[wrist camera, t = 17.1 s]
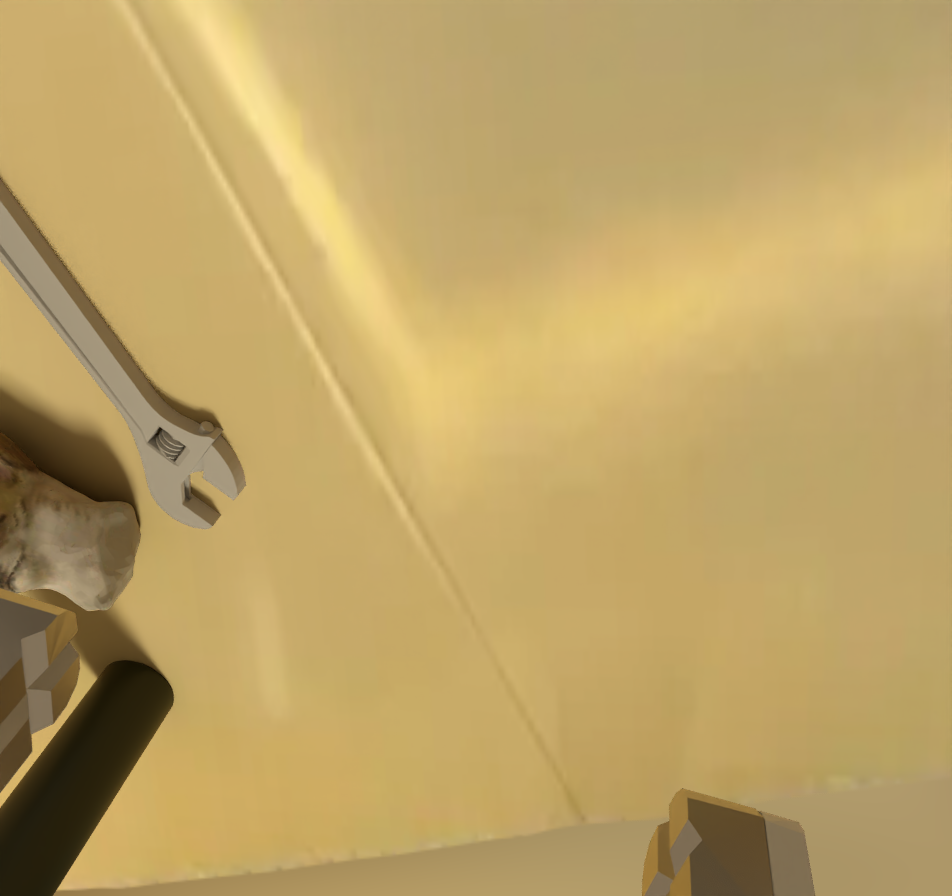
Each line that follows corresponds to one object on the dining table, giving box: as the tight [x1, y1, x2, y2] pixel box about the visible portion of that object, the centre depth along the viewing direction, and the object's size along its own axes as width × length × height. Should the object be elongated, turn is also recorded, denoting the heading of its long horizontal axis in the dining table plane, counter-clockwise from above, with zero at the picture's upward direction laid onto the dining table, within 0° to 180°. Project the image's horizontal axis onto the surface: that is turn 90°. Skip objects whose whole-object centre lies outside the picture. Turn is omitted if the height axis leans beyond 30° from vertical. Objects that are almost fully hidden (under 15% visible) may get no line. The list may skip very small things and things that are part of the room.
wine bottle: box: [0, 661, 174, 896], centre depth 53 cm, size 6×6×30 cm
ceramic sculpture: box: [0, 432, 141, 611], centre depth 54 cm, size 11×9×15 cm
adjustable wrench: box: [0, 179, 246, 529], centre depth 50 cm, size 25×6×2 cm, turn 24°
